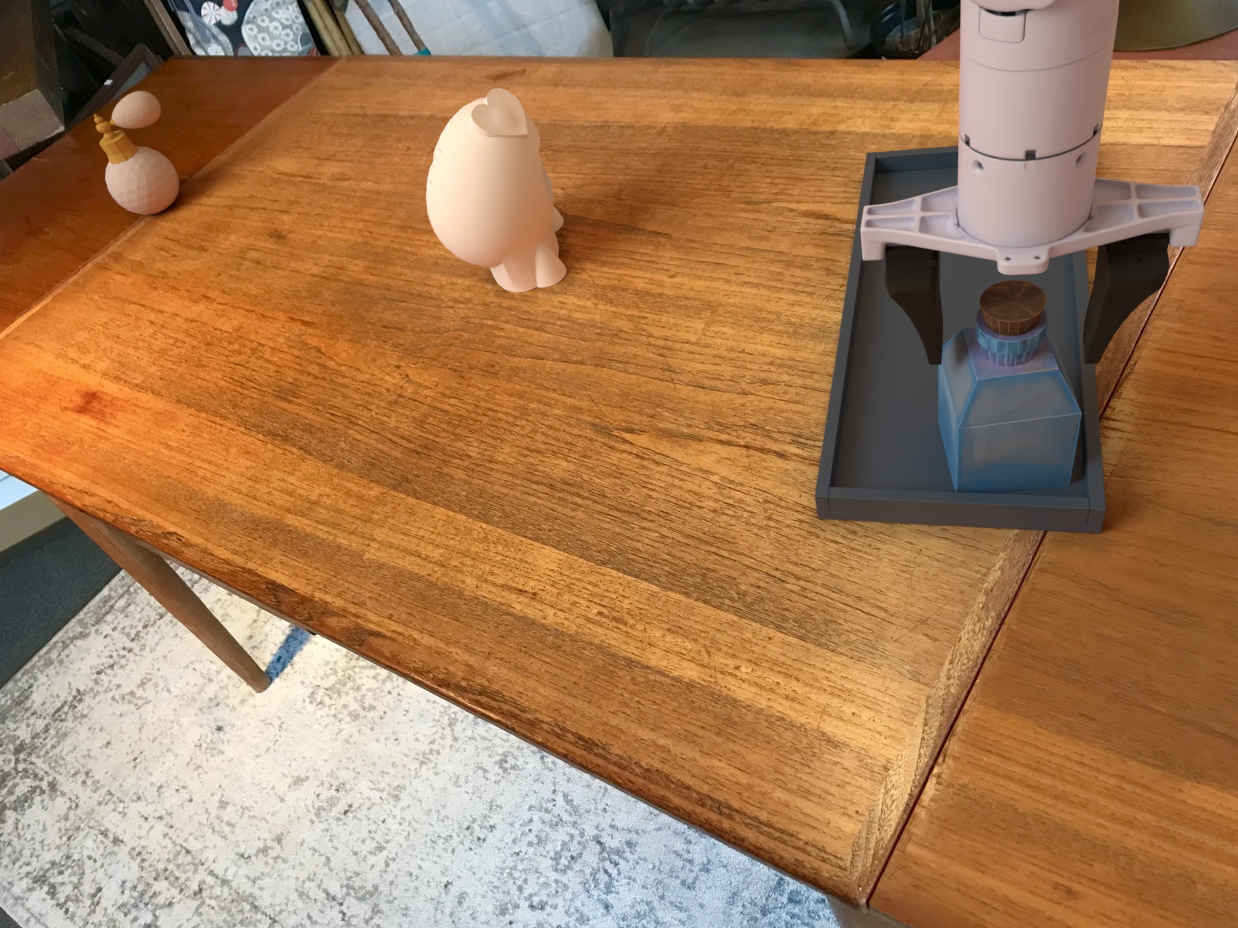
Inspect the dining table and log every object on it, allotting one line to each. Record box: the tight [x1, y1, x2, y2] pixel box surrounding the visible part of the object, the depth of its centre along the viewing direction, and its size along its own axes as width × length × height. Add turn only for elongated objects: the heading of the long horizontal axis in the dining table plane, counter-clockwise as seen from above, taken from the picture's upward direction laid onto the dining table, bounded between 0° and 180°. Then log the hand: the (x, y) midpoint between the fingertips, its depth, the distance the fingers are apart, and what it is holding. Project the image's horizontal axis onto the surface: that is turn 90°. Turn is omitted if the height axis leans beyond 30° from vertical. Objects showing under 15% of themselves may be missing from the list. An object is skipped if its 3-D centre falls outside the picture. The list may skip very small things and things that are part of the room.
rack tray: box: [814, 145, 1107, 534], centre depth 64 cm, size 16×36×2 cm, turn 165°
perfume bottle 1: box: [93, 90, 180, 216], centre depth 104 cm, size 8×10×12 cm
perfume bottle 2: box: [938, 280, 1082, 494], centre depth 52 cm, size 6×6×12 cm
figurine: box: [425, 87, 567, 293], centre depth 78 cm, size 11×11×15 cm
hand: (1011, 351), depth 50 cm, fingers open, 7 cm apart
